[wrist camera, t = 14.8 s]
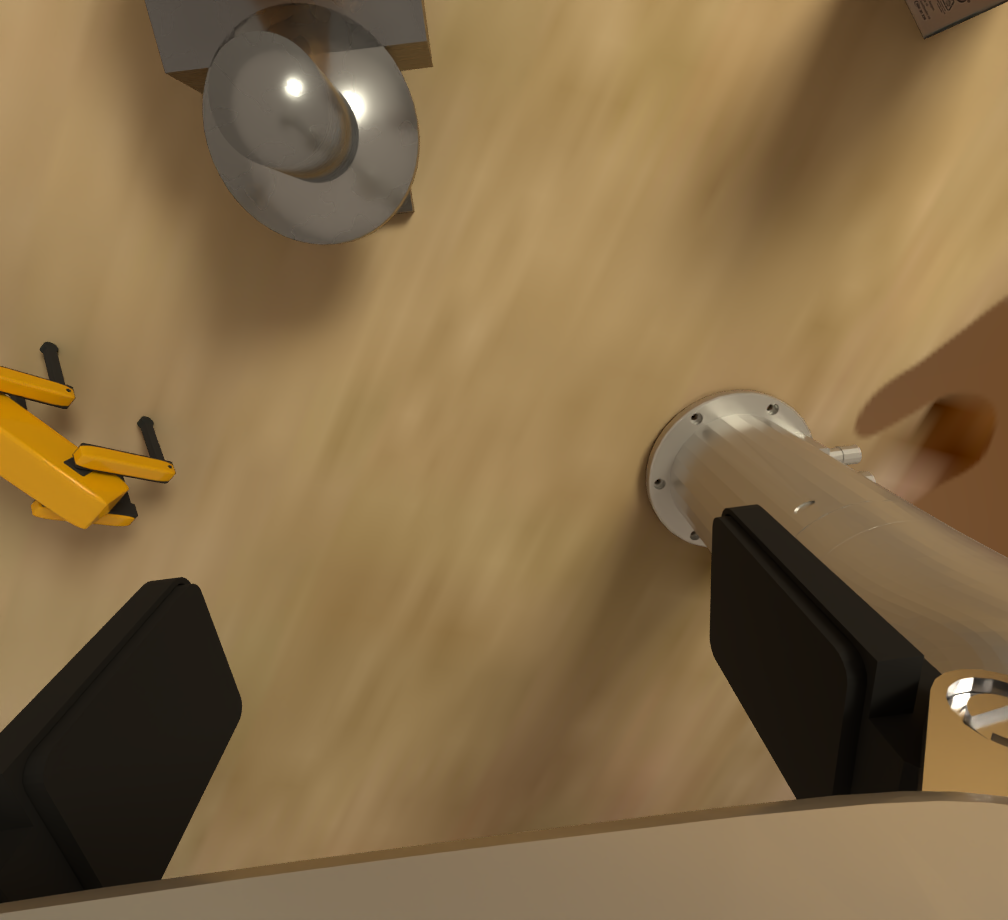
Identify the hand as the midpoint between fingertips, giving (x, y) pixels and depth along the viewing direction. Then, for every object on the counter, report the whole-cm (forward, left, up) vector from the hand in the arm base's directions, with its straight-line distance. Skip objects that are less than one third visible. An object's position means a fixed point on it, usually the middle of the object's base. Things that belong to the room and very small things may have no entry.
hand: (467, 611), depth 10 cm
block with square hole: (+6, -16, -30) cm, 35 cm away
